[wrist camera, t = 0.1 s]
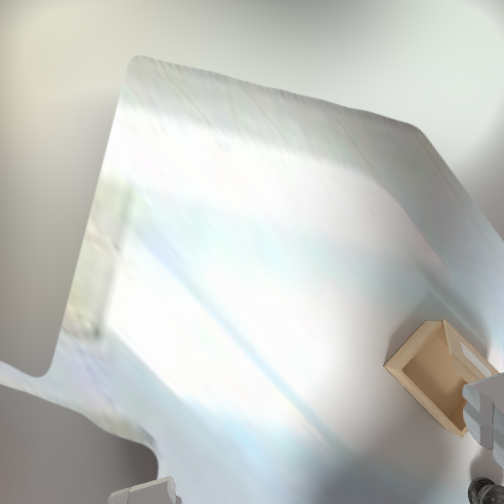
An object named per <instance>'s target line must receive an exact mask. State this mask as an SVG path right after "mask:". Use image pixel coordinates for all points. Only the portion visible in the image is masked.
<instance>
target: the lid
mask: <svg viewBox="0 0 504 504" xmlns="http://www.w3.org/2000/svg"><path fill="white" fill-rule="evenodd" d="M443 323H444V328H445V333H446V338H447V343H448V348H449V353H450V355H451V356H452V357H453V358H454V359H455V361H454V362H452V363H451V364H450V366H451V367H452V368H453V369H454V370H455V371H456V372H457V373H458V374H459V375H460V376H461V377H462V378H463V379H464V380H465V381H466V382H467V383H471V382H474V381H477V380H480V379H483V378H487V377H490V376H493V375H496V374H497V375H498V374H499V372H498V371H497V370H496V369H495V368H494V367H493V366H492V365H491V364H490V363H489V362H488V361H487V360H486V359H485V358H484V357H483V356H482V355H481V354H480V353H479V352H478V351H477V350H476V349H475V348H474V347H473V346H472V345H471V344H470V343H469V342H468V341H467V340H466V339H465V338H464V337H463V336H462V335H461V334H460V333H459V332H458V331H457V330H456V329H455V328H454V327H453V326H452V325H451V324H450V323H449V322H448V321H447V320H446V319H444V320H443Z"/></svg>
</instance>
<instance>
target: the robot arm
mask: <svg viewBox="0 0 504 504" xmlns="http://www.w3.org/2000/svg"><path fill="white" fill-rule="evenodd" d="M463 397H464V398H465V399H466V400H467V401H468V402H467V403H466V405H465V407H464V408H463V416H464V421H465V423H466V426H467V428H468V430H469V432H470V433H471V435H472V436H473V437H474V439H475V440H476V441H477V442H478V443H479V444H480V445H482V446H484V447H486V448H488V449H491V450H492V452H493V459H494V460H495V461H496V462H497V463H498V464H499V465H500V466H501V468H502V469H503V470H504V372H503V373H499V374H498V375H497V374H496V375H493V376H490V377H487V378H483V379H480V380H477V381H474V382H471V383H468V384H465V385H464V387H463ZM107 504H183V502H182V500H181V498H180V497H178V496H176V484H175V482H174V480H173V478H172V476H168V477H165V478H161V479H158V480H154V481H151V482H147V483H143V484H140V485H136V486H133V487H131V488H127V489H124V490H120V491H116V492H113V493H112V494H111V495H110V497H109V499H108V501H107Z"/></svg>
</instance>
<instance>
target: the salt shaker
mask: <svg viewBox="0 0 504 504" xmlns="http://www.w3.org/2000/svg"><path fill="white" fill-rule="evenodd" d="M468 498H469V501H470V503H471V504H504V486H500V485H495V483H494V482H493V481H491V480H489V479H487V478H478V479H476V480H474V481H473V482H472V483H471V484H470V487H469V490H468Z"/></svg>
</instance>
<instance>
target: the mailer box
mask: <svg viewBox="0 0 504 504" xmlns="http://www.w3.org/2000/svg"><path fill="white" fill-rule="evenodd" d="M454 361H455V359H454V358H453V357H452V356H451V355H450V353H449V348H448V343H447V338H446V333H445V328H444V324H443V323H442V322H441V321H424V322H423V324H422V325H421V326H420V327H419V328H418V329H417V330H416V331H415V332H414V333H413V334H412V335H411V337H410V338H409V339H408V340H407V341H406V342H405V343H404V344H403V345H402V346H401V347H400V348H399V350H398V351H397V352H396V353H395V354H394V355H393V356H392V357H391V358H390V359H389V360H388V361H387V362H386V364H385V365H384V367H385V368H386V369H387V370H388V371H389V372H390V373H391V374H392V375H393V376H394V377H395V378H396V379H397V381H398V382H399V383H400V384H401V385H402V386H403V387H404V388H405V389H406V390H407V391H408V392H409V393H410V394H411V395H412V396H413V397H414V398H415V399H416V400H417V401H418V402H419V403H420V404H421V405H422V406H423V407H424V408H425V409H426V410H427V411H428V412H429V413H430V414H431V416H432V417H433V418H434V419H435V420H436V421H437V422H438V423H439V424H440V425H441V426H442V427H443V428H444V429H446V430H448V431H450V432H452V433H454V434H456V435H458V436H459V437H461V438H462V437H463V436H464V434H465V433H466V432H467V431H468V428H467V426H466V423H465V421H464V416H463V408H464V407H465V405H466V403H467V402H468V401H467V400H466V399H465V398H464V397H463V387H464V385H465V384H468V383H467V382H466V381H465V380H464V379H463V378H462V377H461V376H460V375H459V374H458V373H457V372H456V371H455V370H454V369H453V368H452V367H451V366H450V364H451V363H452V362H454Z"/></svg>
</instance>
